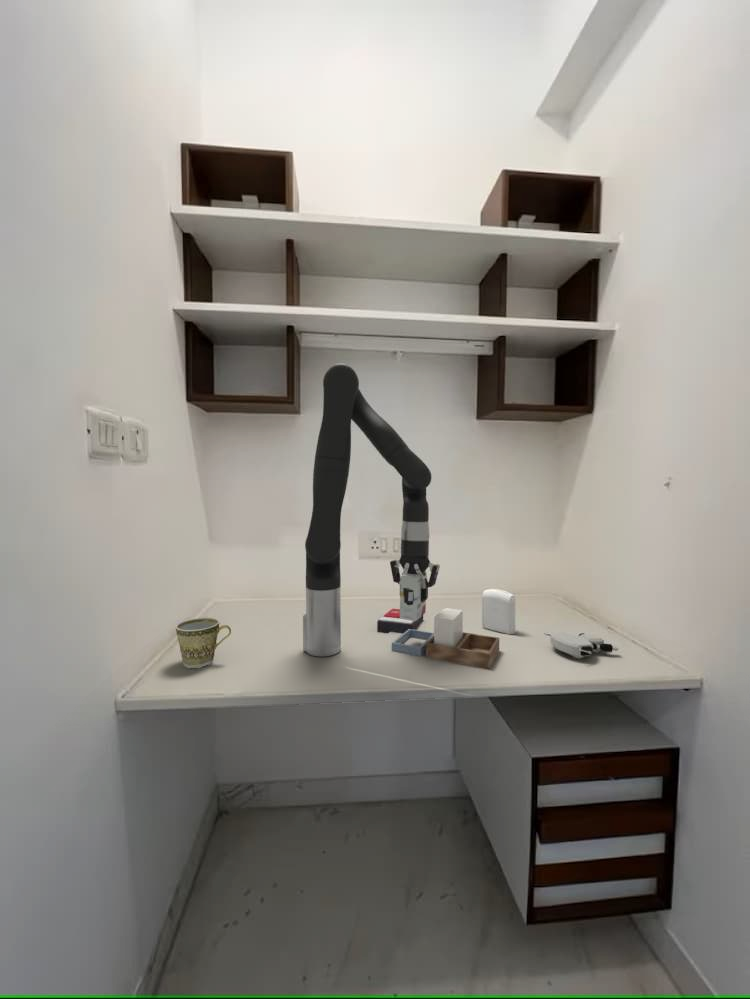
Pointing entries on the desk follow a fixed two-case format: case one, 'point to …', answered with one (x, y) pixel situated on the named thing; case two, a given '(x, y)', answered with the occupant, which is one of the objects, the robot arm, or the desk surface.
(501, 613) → the photo printer
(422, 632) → the tray
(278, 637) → the desk surface
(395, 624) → the calculator
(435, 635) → the white box
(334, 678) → the desk surface
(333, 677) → the desk surface
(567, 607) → the desk surface
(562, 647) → the robot toy
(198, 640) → the ceramic cup
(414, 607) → the ink box
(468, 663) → the brown divided wooden organizer
